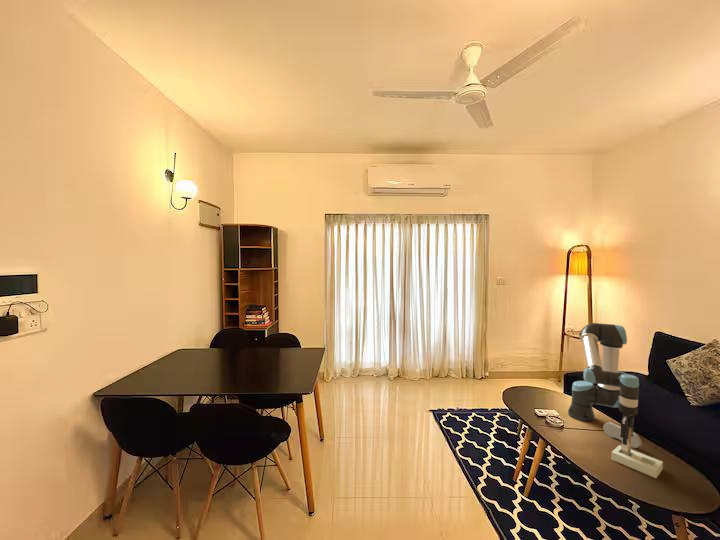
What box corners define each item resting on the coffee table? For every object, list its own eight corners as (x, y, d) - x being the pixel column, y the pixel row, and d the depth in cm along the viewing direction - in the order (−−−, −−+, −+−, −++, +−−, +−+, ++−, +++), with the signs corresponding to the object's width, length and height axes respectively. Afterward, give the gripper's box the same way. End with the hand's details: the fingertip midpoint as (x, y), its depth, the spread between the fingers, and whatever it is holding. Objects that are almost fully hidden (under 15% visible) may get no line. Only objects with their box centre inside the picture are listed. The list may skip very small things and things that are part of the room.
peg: (622, 451, 175) (624, 425, 175) (631, 454, 172) (632, 428, 172) (620, 453, 173) (621, 427, 173) (629, 456, 170) (630, 430, 170)
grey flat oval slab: (641, 450, 183) (642, 435, 183) (639, 451, 182) (639, 436, 182) (605, 432, 201) (605, 419, 201) (602, 433, 200) (603, 419, 200)
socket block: (618, 452, 180) (619, 444, 180) (662, 469, 166) (662, 461, 166) (611, 459, 173) (611, 452, 173) (656, 478, 159) (656, 470, 159)
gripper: (624, 398, 180) (622, 440, 181) (614, 406, 170) (611, 450, 171) (642, 403, 174) (639, 447, 175) (632, 411, 164) (630, 457, 165)
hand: (626, 448), depth 173 cm, fingers closed on peg, 3 cm apart
